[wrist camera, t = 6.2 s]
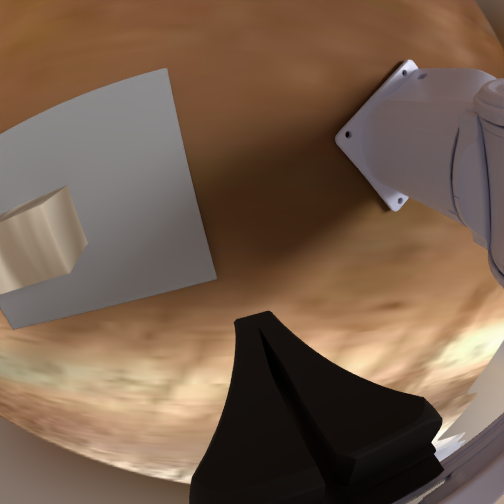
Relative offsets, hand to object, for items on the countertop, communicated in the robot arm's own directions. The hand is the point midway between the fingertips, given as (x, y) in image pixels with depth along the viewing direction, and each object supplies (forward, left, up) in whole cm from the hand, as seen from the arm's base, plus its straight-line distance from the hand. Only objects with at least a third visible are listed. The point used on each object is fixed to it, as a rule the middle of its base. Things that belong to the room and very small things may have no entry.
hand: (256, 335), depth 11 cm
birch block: (+4, -8, -8) cm, 12 cm away
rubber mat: (+5, -9, -10) cm, 15 cm away
